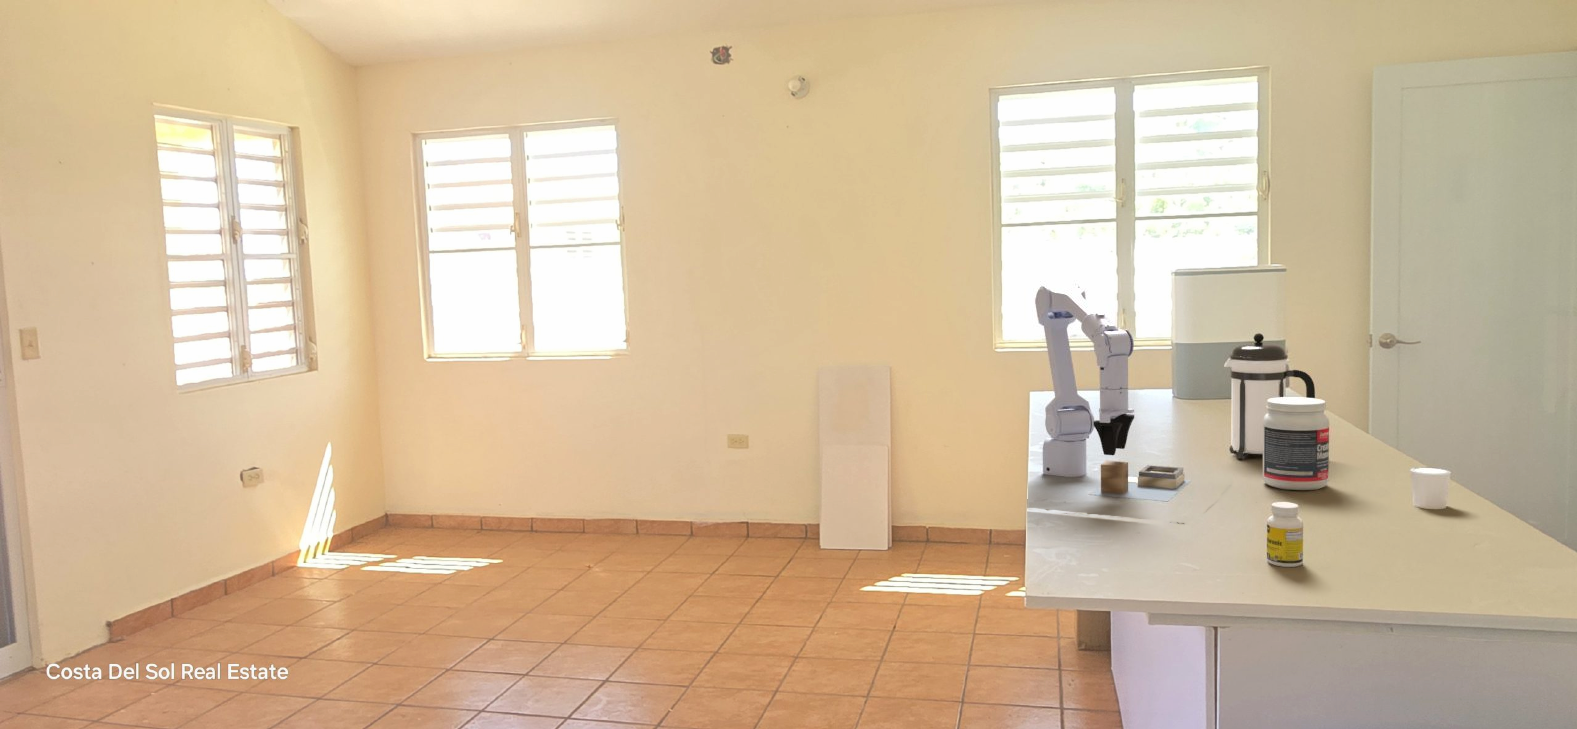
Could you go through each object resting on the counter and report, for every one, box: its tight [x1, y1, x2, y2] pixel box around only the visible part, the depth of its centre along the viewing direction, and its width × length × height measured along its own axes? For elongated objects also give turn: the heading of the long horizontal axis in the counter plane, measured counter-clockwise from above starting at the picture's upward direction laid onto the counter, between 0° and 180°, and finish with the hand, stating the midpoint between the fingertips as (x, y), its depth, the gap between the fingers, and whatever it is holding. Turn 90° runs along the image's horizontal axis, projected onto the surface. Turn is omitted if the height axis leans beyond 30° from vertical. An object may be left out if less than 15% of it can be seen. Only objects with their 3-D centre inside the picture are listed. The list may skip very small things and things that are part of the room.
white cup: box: [1409, 466, 1452, 510], centre depth 209 cm, size 7×7×7 cm
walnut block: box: [1100, 460, 1129, 494], centre depth 227 cm, size 4×4×6 cm
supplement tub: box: [1262, 396, 1330, 491], centre depth 229 cm, size 13×13×18 cm
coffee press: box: [1223, 332, 1316, 461], centre depth 260 cm, size 17×16×30 cm
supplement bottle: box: [1266, 501, 1304, 568], centre depth 176 cm, size 5×5×10 cm
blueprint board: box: [1088, 464, 1192, 502], centre depth 230 cm, size 16×22×4 cm
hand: (1114, 451), depth 227 cm, fingers open, 7 cm apart
